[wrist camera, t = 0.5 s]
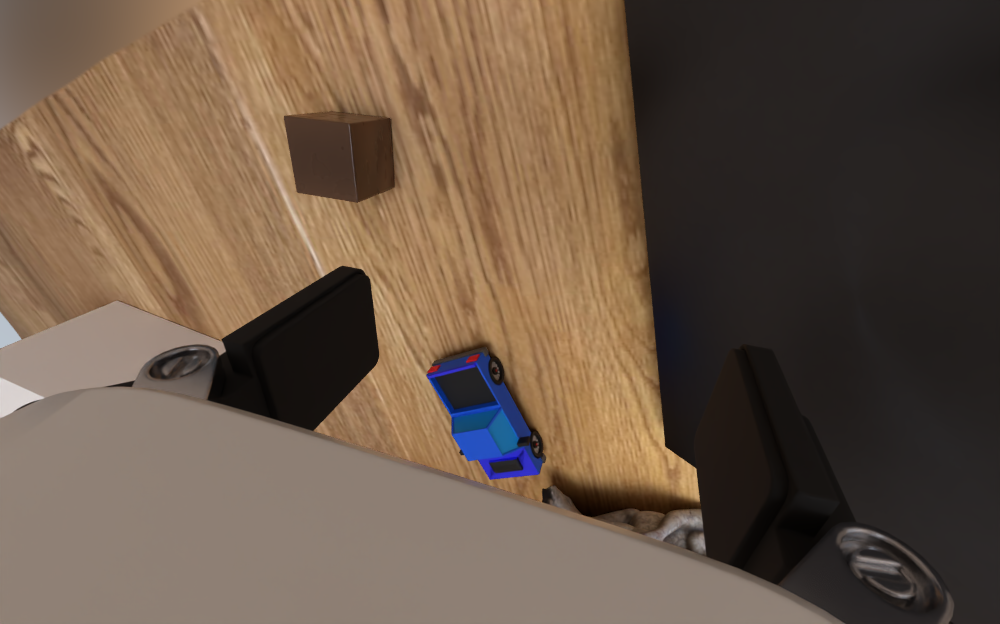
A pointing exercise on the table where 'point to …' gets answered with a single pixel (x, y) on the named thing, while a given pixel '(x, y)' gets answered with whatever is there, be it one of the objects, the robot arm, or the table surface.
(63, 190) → the table surface
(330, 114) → the block
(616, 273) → the table surface
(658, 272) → the laptop screen
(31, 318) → the table surface
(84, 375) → the block
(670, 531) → the sculpture
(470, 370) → the toy car
